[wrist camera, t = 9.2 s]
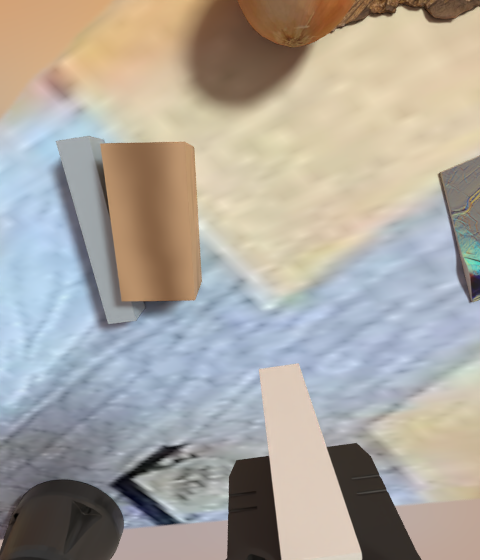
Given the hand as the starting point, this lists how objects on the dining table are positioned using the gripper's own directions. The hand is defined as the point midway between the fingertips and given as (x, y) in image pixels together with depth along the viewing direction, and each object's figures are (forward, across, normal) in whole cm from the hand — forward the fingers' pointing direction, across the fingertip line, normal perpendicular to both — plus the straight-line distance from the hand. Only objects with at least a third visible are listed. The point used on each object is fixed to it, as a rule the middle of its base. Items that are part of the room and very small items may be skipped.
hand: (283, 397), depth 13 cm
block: (+25, -9, +5) cm, 27 cm away
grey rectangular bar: (+25, -14, +5) cm, 29 cm away
